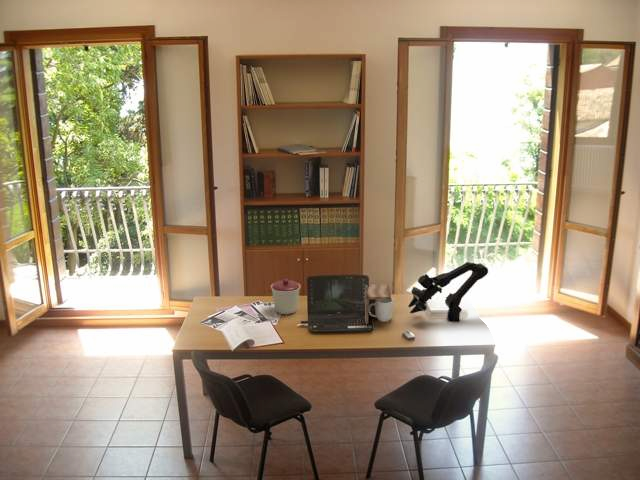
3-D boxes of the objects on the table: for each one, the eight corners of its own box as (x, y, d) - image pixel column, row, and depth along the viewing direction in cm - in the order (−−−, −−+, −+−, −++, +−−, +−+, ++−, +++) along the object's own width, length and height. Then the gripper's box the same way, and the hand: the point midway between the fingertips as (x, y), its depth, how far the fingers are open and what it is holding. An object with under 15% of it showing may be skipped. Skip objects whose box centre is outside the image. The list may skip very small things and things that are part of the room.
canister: (302, 306, 381) (302, 274, 375) (298, 317, 364) (298, 284, 358) (274, 304, 383) (273, 273, 377) (268, 316, 365) (268, 283, 359)
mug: (368, 323, 356) (369, 302, 353) (366, 315, 367) (367, 295, 363) (394, 323, 357) (395, 302, 353) (391, 315, 367) (392, 295, 364)
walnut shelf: (387, 312, 371) (388, 284, 366) (389, 326, 352) (390, 297, 347) (364, 312, 372) (365, 284, 367) (365, 326, 353) (366, 296, 347)
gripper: (417, 277, 362) (398, 294, 366) (421, 289, 345) (401, 307, 348) (430, 290, 365) (411, 307, 368) (435, 302, 347) (414, 319, 350)
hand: (409, 309), depth 359 cm, fingers open, 9 cm apart
